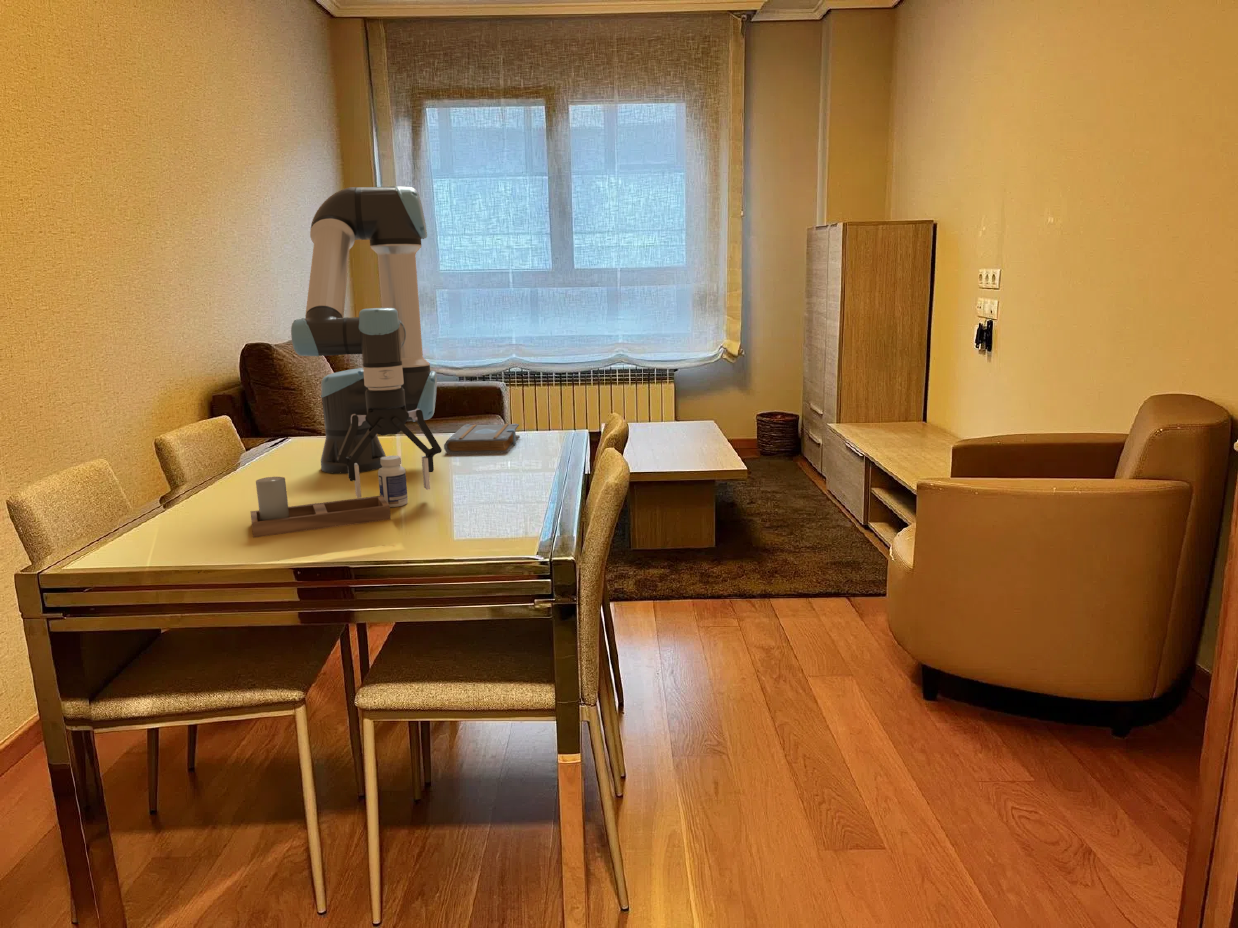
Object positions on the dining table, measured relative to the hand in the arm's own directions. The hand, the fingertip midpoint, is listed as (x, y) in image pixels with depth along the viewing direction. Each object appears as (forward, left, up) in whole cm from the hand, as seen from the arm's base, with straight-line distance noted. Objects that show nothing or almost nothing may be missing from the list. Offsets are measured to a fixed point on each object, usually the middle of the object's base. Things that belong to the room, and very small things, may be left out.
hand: (393, 492), depth 185 cm
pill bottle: (0, 0, -3) cm, 3 cm away
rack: (+10, -15, -3) cm, 18 cm away
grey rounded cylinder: (+10, -23, -2) cm, 25 cm away
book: (-50, +32, -3) cm, 59 cm away
